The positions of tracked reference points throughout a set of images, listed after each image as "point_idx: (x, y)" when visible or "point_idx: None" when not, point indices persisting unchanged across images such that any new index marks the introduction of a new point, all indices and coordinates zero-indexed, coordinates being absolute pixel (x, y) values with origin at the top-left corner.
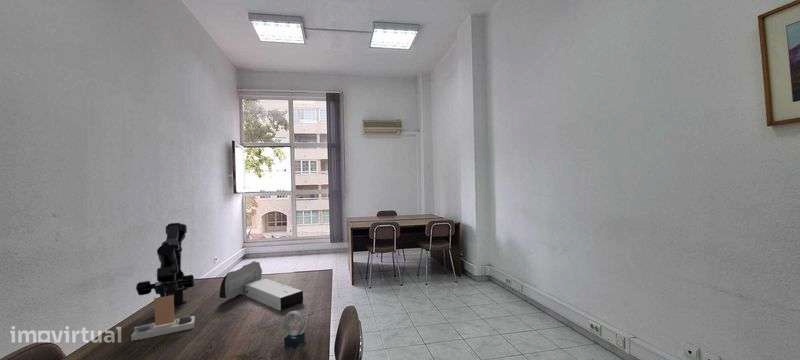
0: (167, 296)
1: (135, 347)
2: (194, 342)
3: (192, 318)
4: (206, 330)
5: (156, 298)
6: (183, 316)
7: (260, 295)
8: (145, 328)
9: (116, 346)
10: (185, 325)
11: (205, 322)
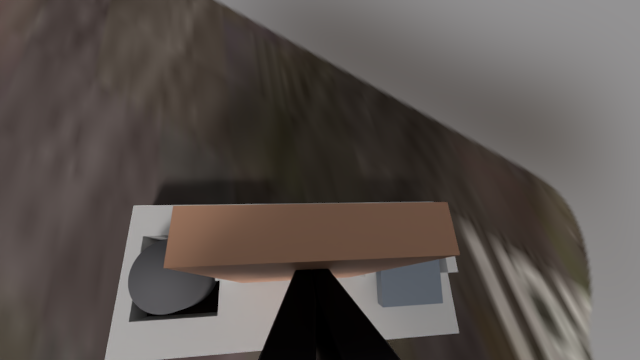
0: (267, 236)
1: (377, 130)
2: (157, 47)
3: (128, 305)
4: (88, 141)
5: (424, 222)
6: (177, 297)
7: None
8: None
9: (459, 184)
10: (180, 205)
11: (68, 273)
